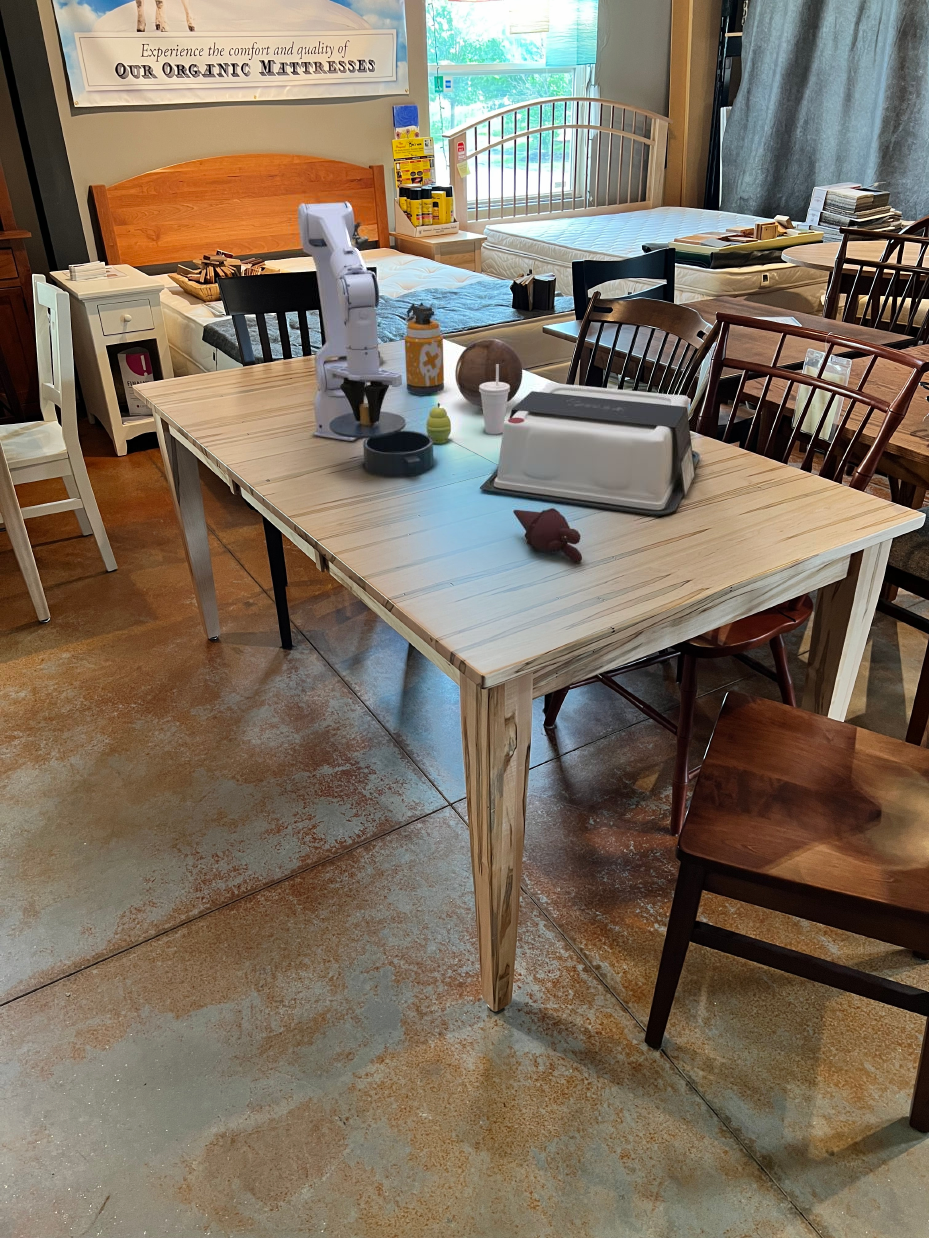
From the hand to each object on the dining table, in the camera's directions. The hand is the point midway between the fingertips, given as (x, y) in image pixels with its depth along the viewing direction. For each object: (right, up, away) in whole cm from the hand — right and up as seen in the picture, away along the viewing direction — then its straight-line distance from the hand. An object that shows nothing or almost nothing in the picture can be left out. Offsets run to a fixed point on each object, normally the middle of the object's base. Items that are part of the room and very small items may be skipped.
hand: (367, 420), depth 161 cm
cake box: (+43, -10, +2) cm, 44 cm away
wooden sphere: (+24, +11, +37) cm, 46 cm away
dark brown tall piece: (-12, +31, +70) cm, 77 cm away
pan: (+5, -7, +7) cm, 11 cm away
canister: (+8, +19, +49) cm, 53 cm away
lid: (0, -1, 0) cm, 1 cm away
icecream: (+31, -26, -26) cm, 48 cm away
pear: (+13, 0, +18) cm, 22 cm away
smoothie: (+24, +3, +23) cm, 33 cm away
